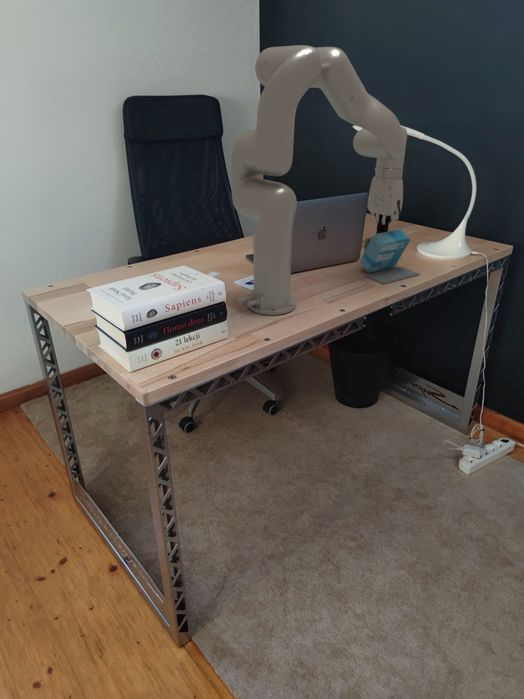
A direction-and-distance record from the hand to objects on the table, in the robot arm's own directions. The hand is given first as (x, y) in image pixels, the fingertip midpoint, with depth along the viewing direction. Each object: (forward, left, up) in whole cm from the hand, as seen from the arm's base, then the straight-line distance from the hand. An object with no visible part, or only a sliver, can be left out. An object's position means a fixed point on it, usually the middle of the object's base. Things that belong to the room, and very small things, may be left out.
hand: (381, 236), depth 154 cm
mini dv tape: (+10, +12, -11) cm, 19 cm away
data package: (0, +1, -10) cm, 10 cm away
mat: (0, -7, -11) cm, 12 cm away
